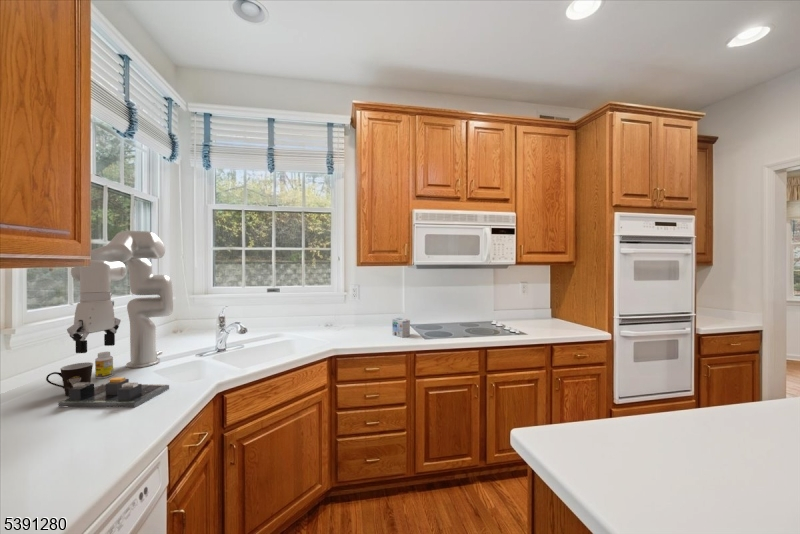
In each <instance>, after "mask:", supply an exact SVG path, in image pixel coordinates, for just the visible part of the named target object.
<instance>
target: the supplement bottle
mask: <svg viewBox="0 0 800 534" xmlns="http://www.w3.org/2000/svg"><path fill="white" fill-rule="evenodd" d="M94 360H95V361H94V364H95V378H96V379H100V380H101V379H107V378H109V377H112V376H113V375H114V357H113V356H112V355H111V351H101V352H98V353H97V357H96V358H95V359H94Z"/></svg>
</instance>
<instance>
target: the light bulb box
mask: <svg viewBox="0 0 800 534" xmlns="http://www.w3.org/2000/svg"><path fill="white" fill-rule="evenodd" d="M391 329H392V333H391V334H392V336H396V337H400V338H402V339H403V338H407V337H410V336H411V319H408V318H407V319H406V318H402V317H397V318H392V328H391Z"/></svg>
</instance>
